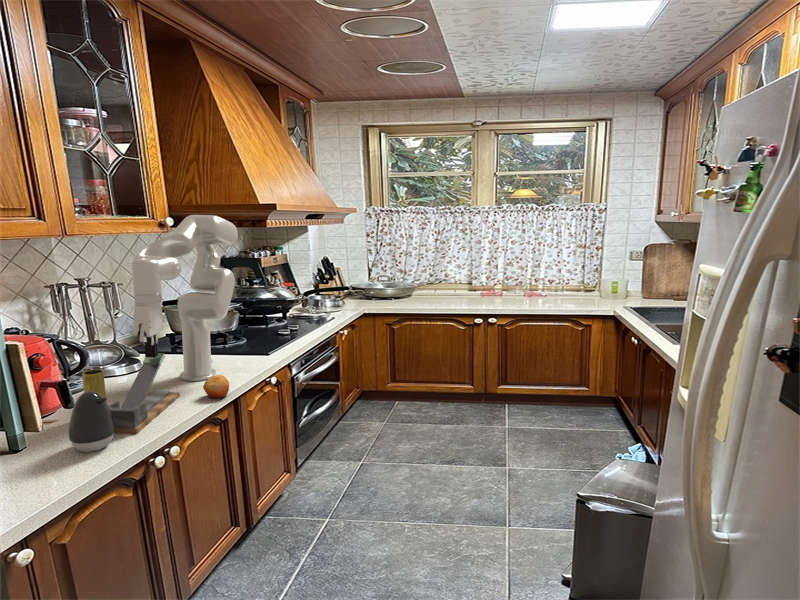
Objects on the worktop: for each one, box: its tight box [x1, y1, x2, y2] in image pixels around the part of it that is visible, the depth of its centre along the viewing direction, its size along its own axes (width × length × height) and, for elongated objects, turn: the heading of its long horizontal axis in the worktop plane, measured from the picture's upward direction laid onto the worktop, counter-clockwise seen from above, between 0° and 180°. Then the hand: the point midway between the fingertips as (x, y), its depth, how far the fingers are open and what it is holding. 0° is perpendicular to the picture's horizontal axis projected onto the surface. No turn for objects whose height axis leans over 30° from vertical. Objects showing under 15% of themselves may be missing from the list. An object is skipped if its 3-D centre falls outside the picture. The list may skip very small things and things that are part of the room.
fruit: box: [203, 374, 230, 399], centre depth 164 cm, size 8×8×8 cm
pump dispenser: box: [68, 391, 115, 453], centre depth 126 cm, size 10×10×15 cm
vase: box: [81, 368, 108, 404], centre depth 143 cm, size 6×6×14 cm
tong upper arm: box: [120, 352, 166, 408], centre depth 147 cm, size 23×6×2 cm
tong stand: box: [108, 389, 181, 435], centre depth 148 cm, size 28×10×6 cm, turn 1°
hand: (151, 356), depth 153 cm, fingers closed
